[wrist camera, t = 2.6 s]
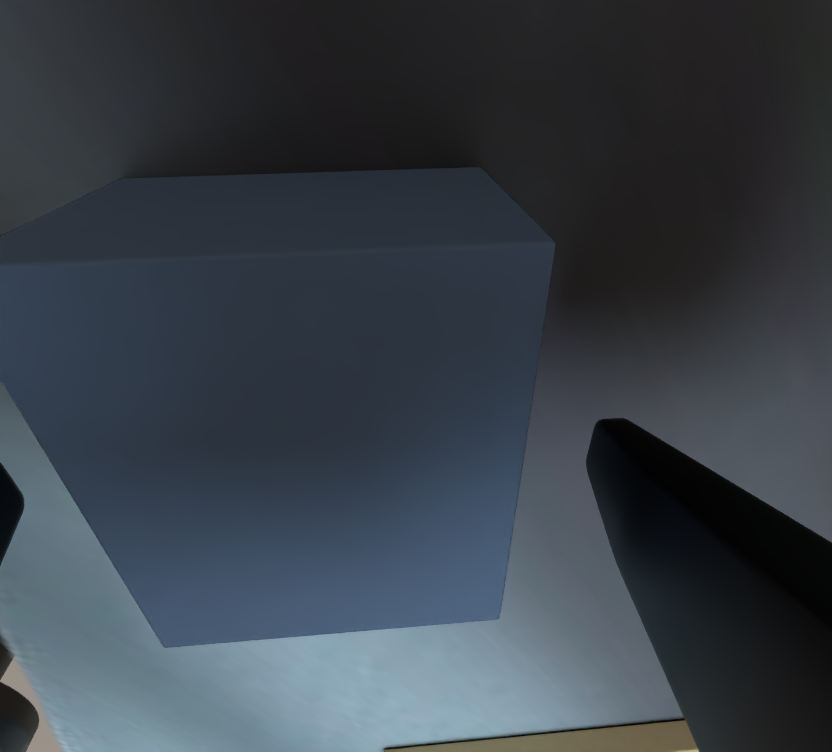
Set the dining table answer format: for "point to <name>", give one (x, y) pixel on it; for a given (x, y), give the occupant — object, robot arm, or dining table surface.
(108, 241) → the blue block
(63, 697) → the dining table surface
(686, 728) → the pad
